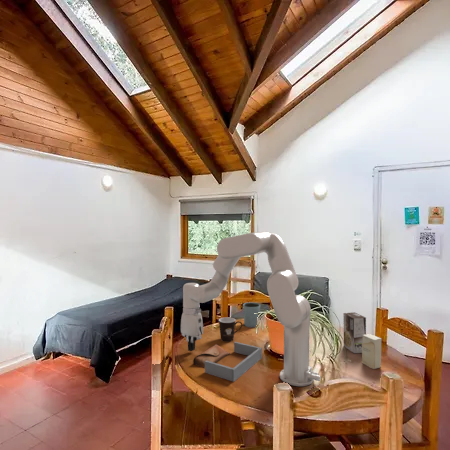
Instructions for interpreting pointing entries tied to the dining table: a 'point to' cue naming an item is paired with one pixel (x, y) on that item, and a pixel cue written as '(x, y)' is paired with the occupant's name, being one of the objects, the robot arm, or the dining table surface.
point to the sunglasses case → (210, 356)
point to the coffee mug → (227, 328)
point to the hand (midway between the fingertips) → (191, 350)
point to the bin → (238, 370)
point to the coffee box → (354, 331)
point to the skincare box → (371, 351)
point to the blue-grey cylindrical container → (251, 314)
